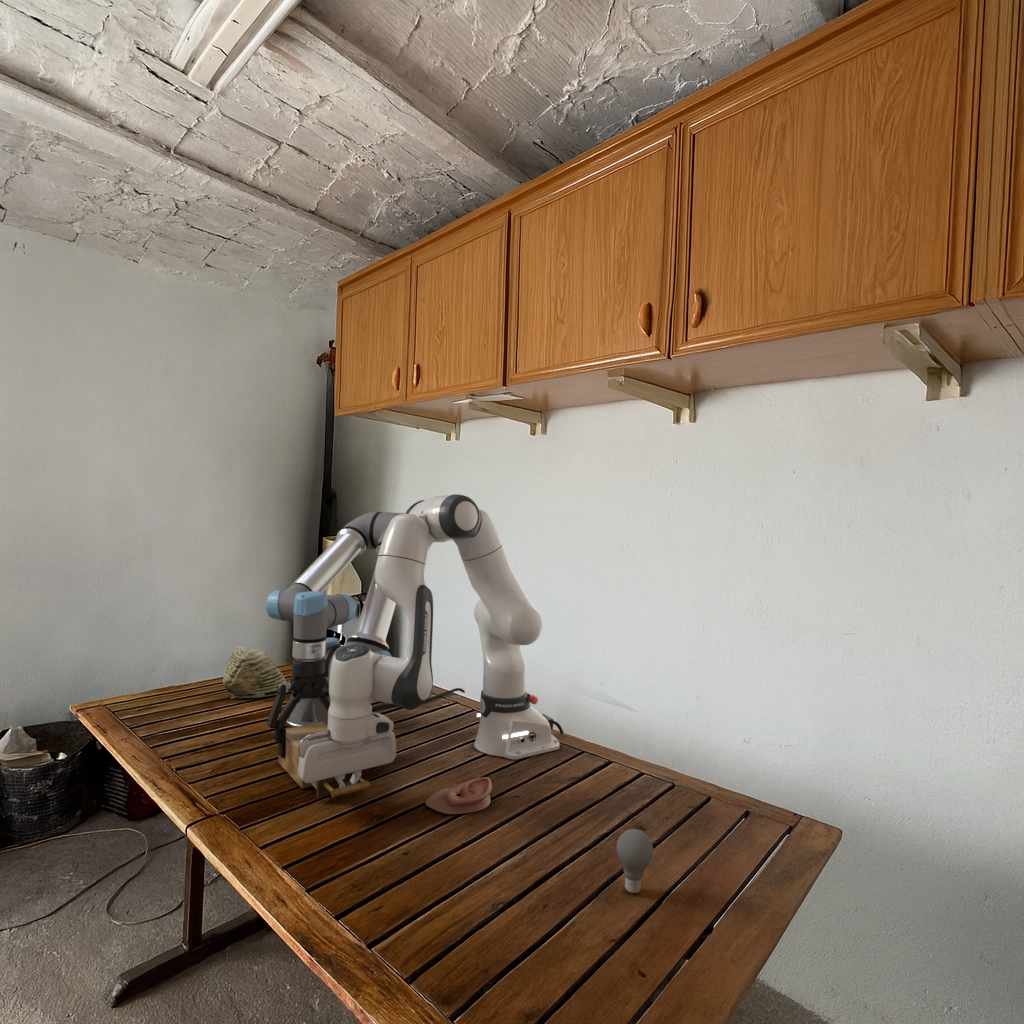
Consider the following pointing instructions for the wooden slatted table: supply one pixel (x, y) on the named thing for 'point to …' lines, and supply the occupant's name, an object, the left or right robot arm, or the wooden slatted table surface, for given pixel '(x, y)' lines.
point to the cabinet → (297, 749)
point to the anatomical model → (462, 797)
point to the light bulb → (634, 857)
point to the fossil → (251, 674)
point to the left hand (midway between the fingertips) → (305, 750)
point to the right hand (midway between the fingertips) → (347, 792)
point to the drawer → (332, 786)
